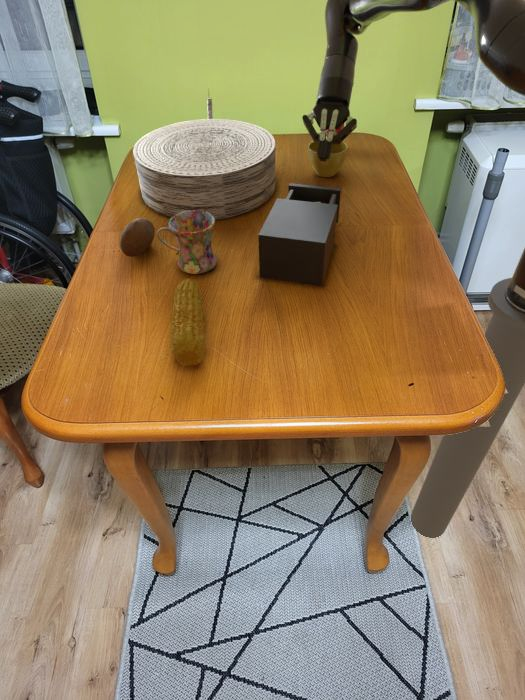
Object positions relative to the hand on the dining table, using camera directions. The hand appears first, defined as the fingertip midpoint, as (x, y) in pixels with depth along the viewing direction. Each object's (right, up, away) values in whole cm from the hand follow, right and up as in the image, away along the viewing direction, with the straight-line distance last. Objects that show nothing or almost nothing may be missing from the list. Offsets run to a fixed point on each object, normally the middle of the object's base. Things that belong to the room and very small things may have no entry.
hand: (323, 160), depth 109 cm
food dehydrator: (-27, 0, +17) cm, 32 cm away
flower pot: (+3, +4, +19) cm, 20 cm away
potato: (-40, -22, -5) cm, 46 cm away
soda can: (+6, +14, +30) cm, 33 cm away
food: (-27, -40, -24) cm, 54 cm away
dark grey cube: (-6, -25, -10) cm, 27 cm away
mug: (-28, -26, -10) cm, 40 cm away
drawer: (-3, -16, -2) cm, 17 cm away
